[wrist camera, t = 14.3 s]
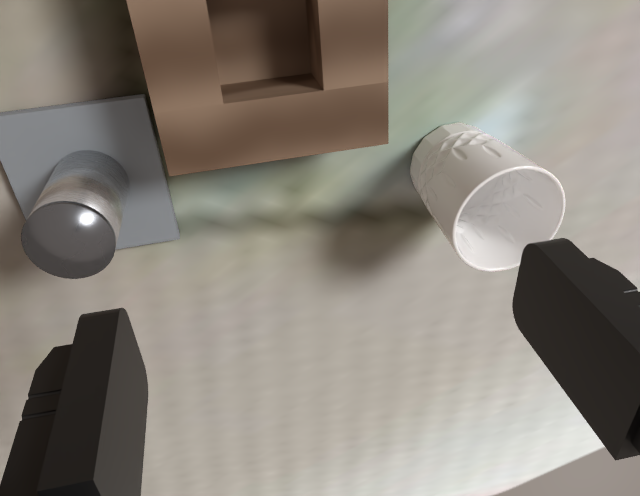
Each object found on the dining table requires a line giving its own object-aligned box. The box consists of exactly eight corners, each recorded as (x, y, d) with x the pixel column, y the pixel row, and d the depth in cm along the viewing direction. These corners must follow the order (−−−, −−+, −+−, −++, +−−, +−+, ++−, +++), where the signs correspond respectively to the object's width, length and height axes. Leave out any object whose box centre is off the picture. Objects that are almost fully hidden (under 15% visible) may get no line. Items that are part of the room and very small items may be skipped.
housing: (117, -93, 31) (103, -92, 26) (357, -113, 33) (387, -116, 28) (171, 141, 38) (169, 176, 34) (363, 113, 40) (388, 143, 35)
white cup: (387, 195, 44) (433, 262, 36) (426, 102, 41) (486, 153, 33) (468, 213, 47) (528, 279, 39) (511, 128, 44) (587, 180, 35)
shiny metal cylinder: (42, 154, 36) (7, 210, 30) (119, 145, 37) (102, 198, 30) (65, 219, 39) (38, 284, 32) (137, 210, 40) (124, 271, 33)
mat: (-14, 114, 35) (-18, 118, 34) (145, 93, 36) (144, 97, 36) (45, 255, 41) (43, 261, 40) (179, 233, 42) (179, 238, 42)
